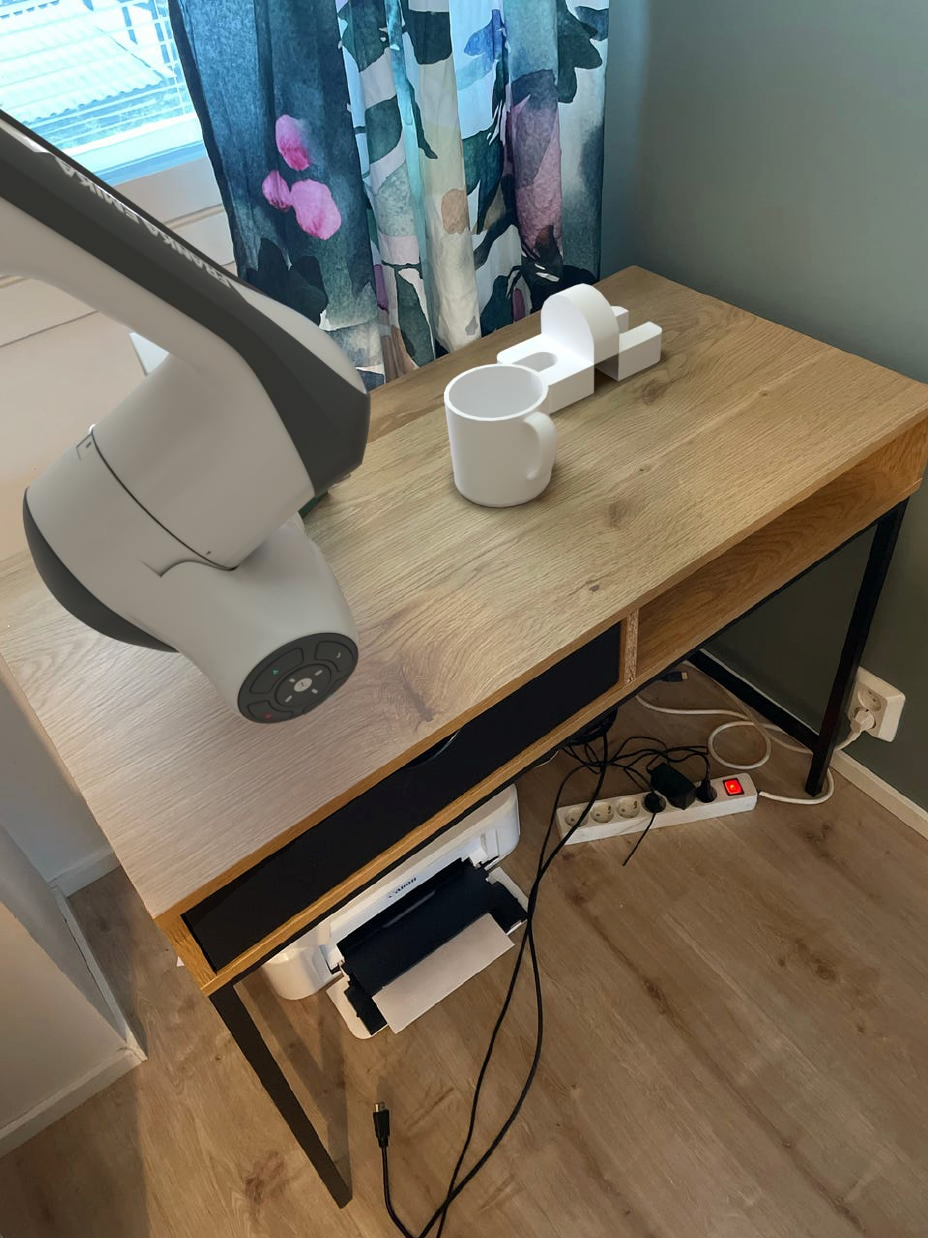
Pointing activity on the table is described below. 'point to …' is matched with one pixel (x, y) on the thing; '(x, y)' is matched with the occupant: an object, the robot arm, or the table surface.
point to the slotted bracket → (584, 344)
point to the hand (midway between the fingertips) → (174, 419)
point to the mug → (500, 434)
